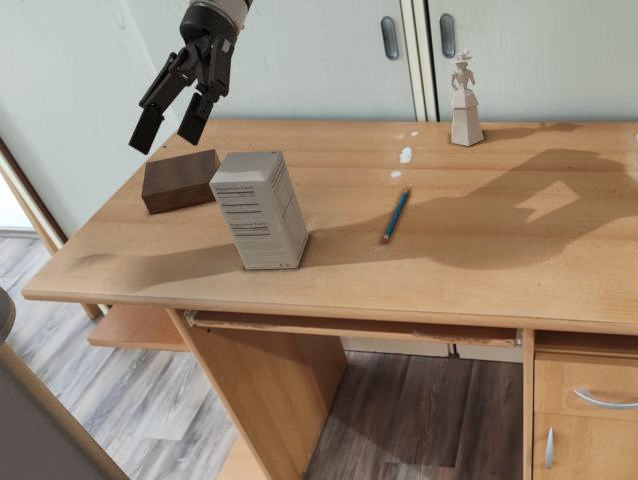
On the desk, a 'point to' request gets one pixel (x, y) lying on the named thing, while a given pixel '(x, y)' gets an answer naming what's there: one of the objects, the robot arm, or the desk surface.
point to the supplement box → (260, 209)
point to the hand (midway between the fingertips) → (161, 145)
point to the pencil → (394, 217)
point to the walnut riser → (179, 181)
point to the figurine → (464, 105)
